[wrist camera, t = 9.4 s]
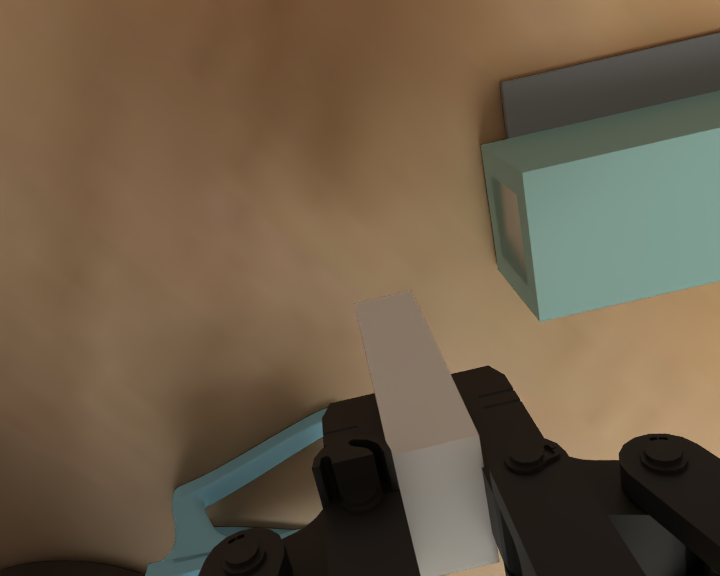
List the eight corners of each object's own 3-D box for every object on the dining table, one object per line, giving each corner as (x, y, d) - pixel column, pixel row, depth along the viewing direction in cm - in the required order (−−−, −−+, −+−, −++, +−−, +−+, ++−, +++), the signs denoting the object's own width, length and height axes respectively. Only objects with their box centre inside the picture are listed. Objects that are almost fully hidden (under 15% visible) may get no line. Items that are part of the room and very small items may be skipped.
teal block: (539, 321, 21) (871, 246, 21) (522, 172, 20) (885, 89, 19) (498, 269, 26) (770, 207, 26) (480, 145, 24) (774, 77, 24)
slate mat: (528, 305, 27) (530, 308, 27) (499, 82, 24) (501, 83, 23) (837, 235, 27) (843, 237, 27) (853, 1, 24) (859, 0, 23)
